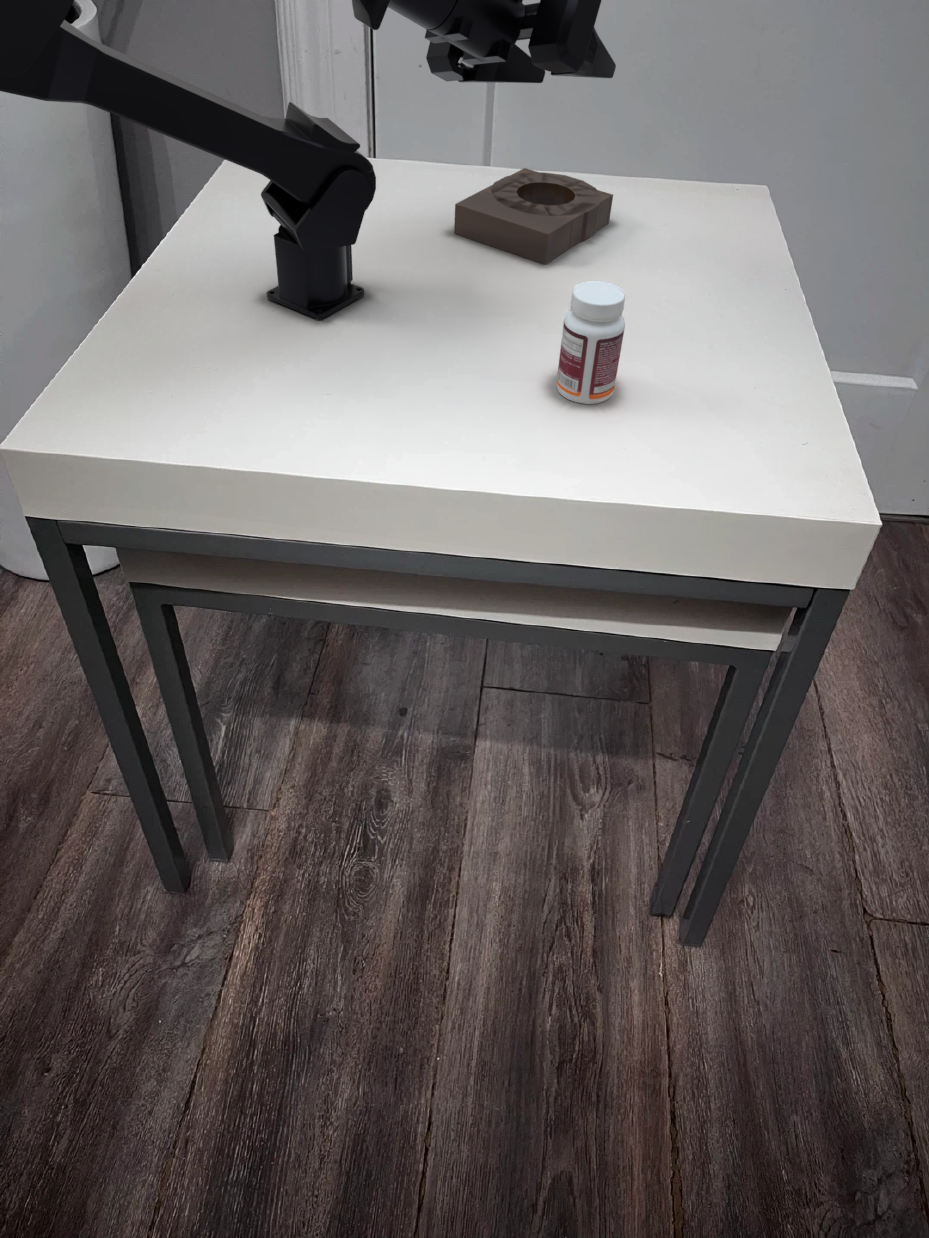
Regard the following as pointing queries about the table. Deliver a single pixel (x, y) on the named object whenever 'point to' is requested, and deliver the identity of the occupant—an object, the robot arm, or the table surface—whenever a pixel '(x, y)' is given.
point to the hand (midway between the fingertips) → (576, 74)
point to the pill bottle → (591, 342)
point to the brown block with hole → (533, 214)
